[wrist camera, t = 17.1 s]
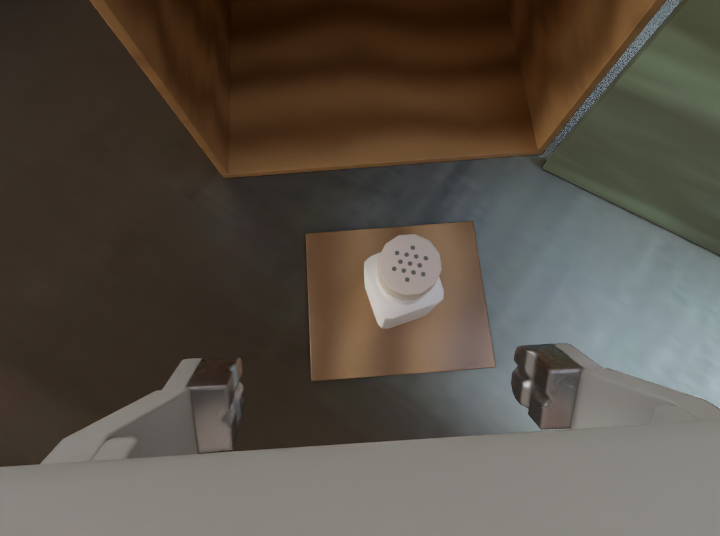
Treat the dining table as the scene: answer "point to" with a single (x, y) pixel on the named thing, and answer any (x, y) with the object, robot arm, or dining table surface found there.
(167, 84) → the cupboard
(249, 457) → the robot arm
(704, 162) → the cupboard door
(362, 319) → the coaster
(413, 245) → the pepper shaker
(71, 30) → the dining table surface
